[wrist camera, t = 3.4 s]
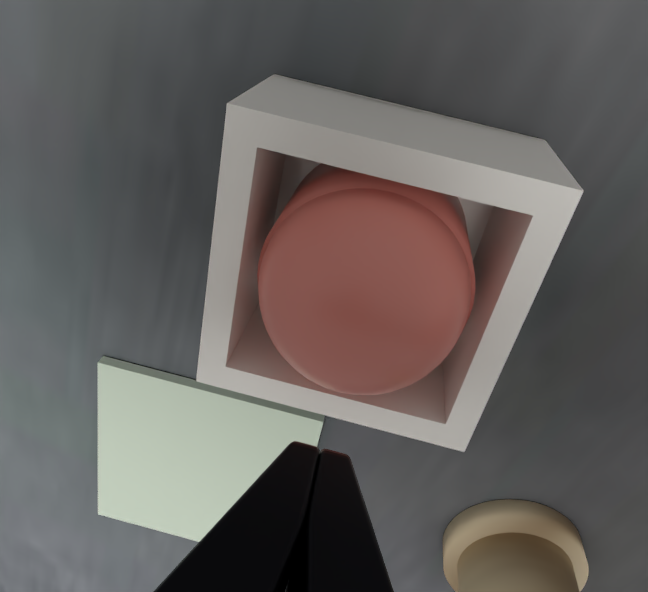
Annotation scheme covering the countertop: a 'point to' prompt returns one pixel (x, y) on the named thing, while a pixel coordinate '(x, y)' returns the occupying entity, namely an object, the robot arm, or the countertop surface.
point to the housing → (400, 166)
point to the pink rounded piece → (365, 281)
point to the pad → (184, 446)
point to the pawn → (513, 549)
